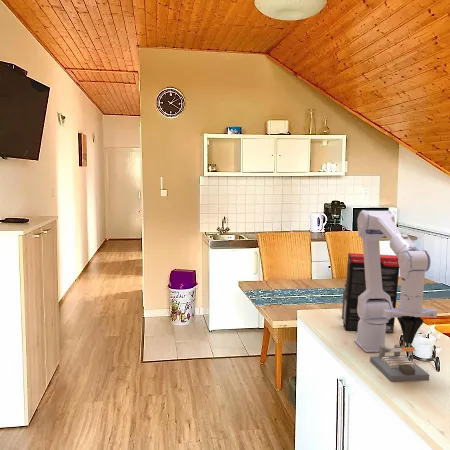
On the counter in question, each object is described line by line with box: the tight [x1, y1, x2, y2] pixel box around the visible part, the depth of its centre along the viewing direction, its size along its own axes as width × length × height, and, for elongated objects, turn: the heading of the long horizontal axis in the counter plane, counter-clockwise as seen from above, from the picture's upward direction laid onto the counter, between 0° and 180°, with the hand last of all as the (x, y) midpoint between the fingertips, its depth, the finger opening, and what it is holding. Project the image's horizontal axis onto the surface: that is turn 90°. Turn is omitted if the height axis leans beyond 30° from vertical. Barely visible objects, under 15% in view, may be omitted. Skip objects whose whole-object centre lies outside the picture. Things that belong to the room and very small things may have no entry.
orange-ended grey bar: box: [385, 346, 416, 354], centre depth 131 cm, size 12×3×1 cm, turn 8°
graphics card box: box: [342, 252, 400, 334], centre depth 162 cm, size 17×7×27 cm, turn 84°
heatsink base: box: [369, 344, 430, 383], centre depth 131 cm, size 13×11×5 cm
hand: (408, 342), depth 126 cm, fingers closed
